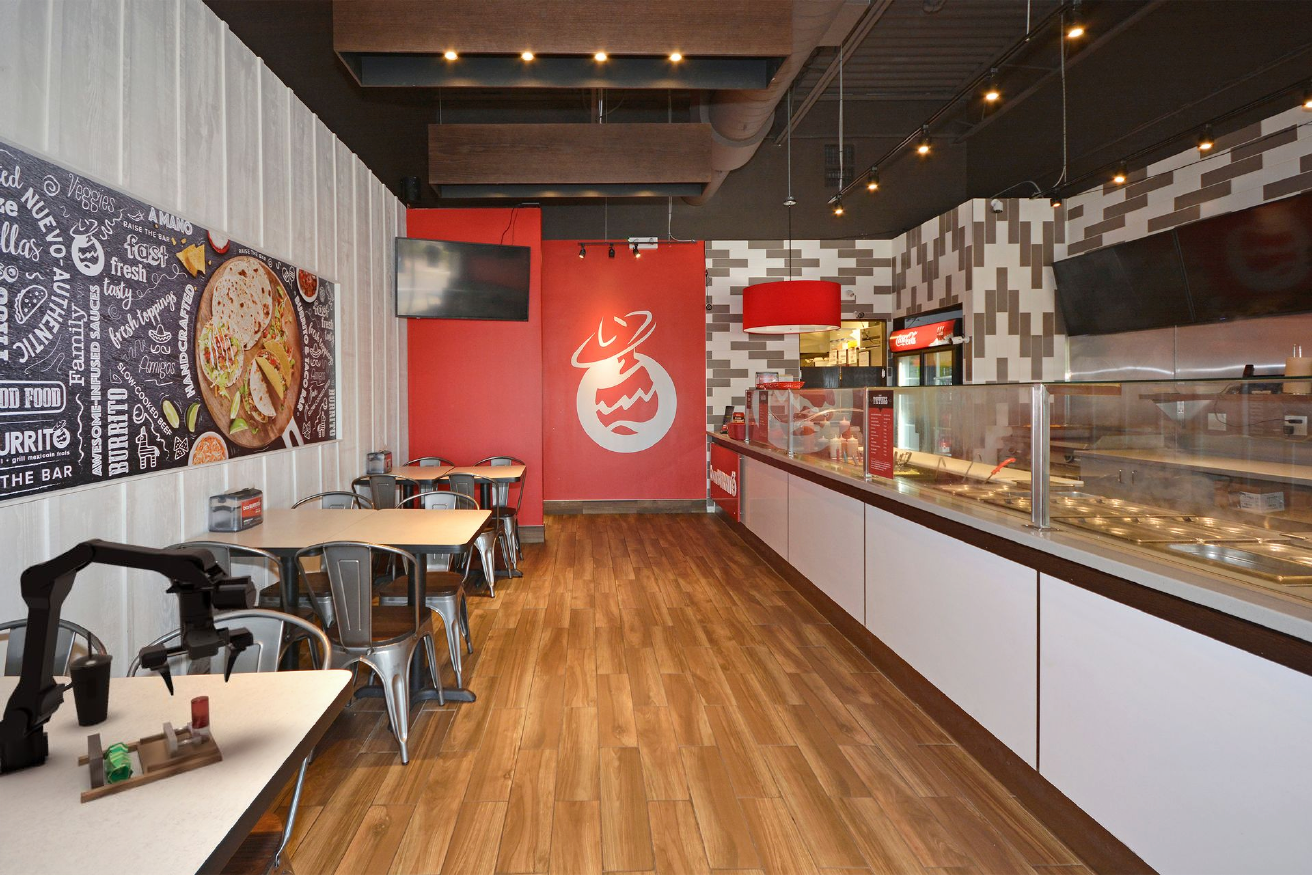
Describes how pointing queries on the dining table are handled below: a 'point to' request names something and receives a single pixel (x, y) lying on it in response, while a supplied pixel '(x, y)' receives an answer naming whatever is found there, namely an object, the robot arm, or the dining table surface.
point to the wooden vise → (147, 762)
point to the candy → (118, 763)
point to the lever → (190, 727)
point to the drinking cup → (91, 685)
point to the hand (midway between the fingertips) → (199, 688)
